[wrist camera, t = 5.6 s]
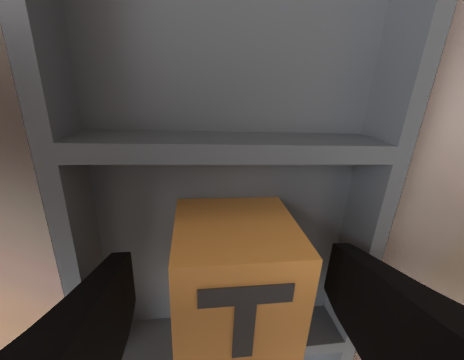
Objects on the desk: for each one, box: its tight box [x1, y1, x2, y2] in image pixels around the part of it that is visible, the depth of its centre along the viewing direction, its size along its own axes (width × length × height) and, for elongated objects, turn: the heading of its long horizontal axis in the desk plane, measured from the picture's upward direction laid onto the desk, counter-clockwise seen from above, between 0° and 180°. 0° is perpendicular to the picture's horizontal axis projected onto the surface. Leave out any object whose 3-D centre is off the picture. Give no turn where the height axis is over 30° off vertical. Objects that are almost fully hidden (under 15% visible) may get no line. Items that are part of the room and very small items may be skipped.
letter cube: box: [168, 197, 323, 360], centre depth 9 cm, size 4×4×4 cm
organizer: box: [0, 0, 458, 360], centre depth 10 cm, size 11×26×2 cm, turn 178°
